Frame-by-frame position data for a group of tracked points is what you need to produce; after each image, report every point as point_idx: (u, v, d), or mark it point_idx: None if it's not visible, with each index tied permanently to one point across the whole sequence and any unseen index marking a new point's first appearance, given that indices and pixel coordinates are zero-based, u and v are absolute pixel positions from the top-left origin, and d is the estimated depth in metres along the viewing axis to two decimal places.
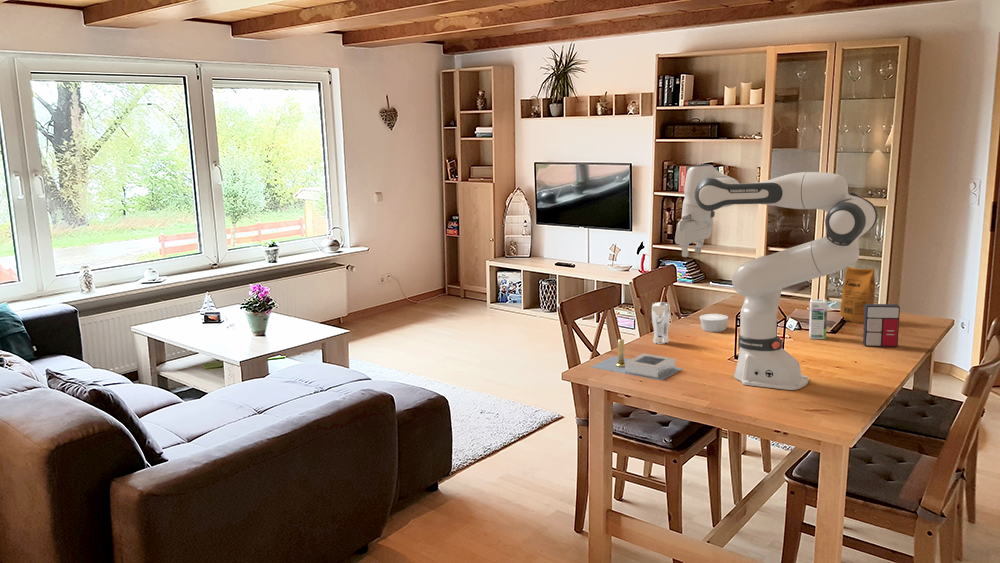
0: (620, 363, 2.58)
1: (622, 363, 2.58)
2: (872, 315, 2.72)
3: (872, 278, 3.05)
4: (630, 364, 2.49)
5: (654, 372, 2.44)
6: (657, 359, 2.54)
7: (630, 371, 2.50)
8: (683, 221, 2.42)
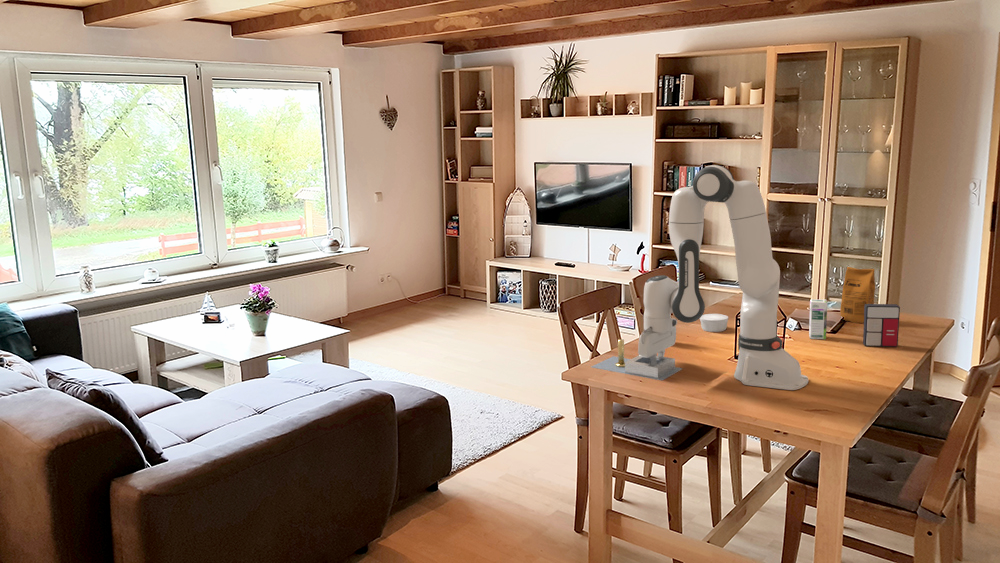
0: (620, 363, 2.58)
1: (622, 363, 2.58)
2: (872, 315, 2.72)
3: (872, 278, 3.05)
4: (630, 364, 2.49)
5: (654, 372, 2.44)
6: (657, 359, 2.54)
7: (630, 371, 2.50)
8: (644, 335, 2.46)
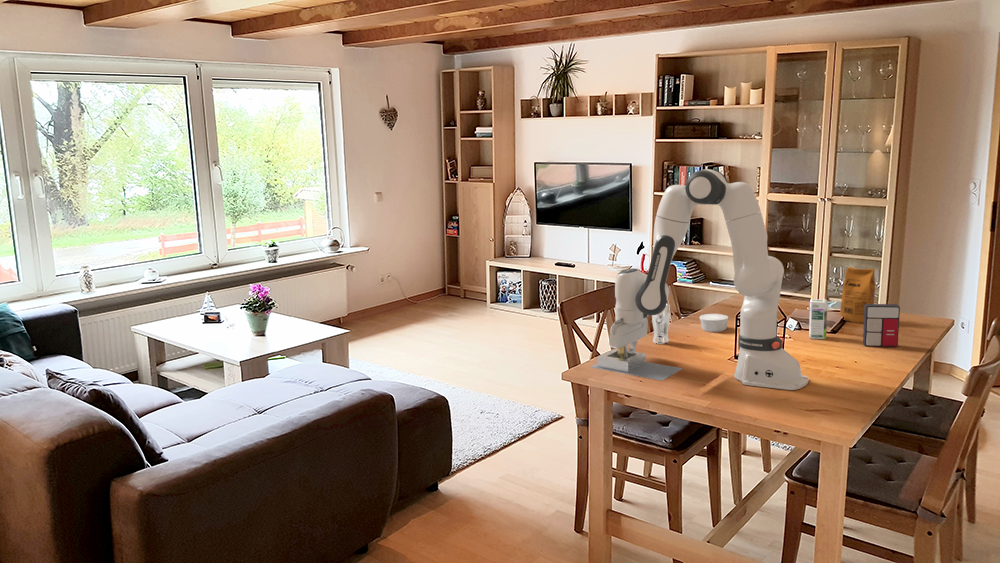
0: None
1: None
2: (872, 315, 2.72)
3: (872, 278, 3.05)
4: (602, 359, 2.57)
5: (625, 366, 2.51)
6: (629, 354, 2.61)
7: (602, 365, 2.57)
8: (615, 326, 2.53)
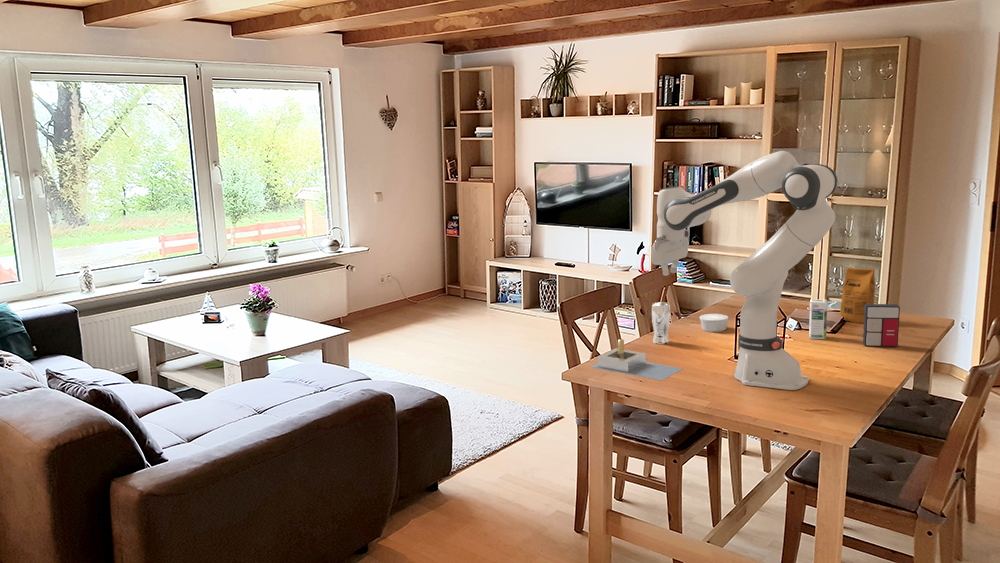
0: None
1: None
2: (872, 315, 2.72)
3: (872, 278, 3.05)
4: (602, 359, 2.57)
5: (625, 366, 2.51)
6: (629, 354, 2.61)
7: (602, 365, 2.57)
8: (657, 242, 2.52)
